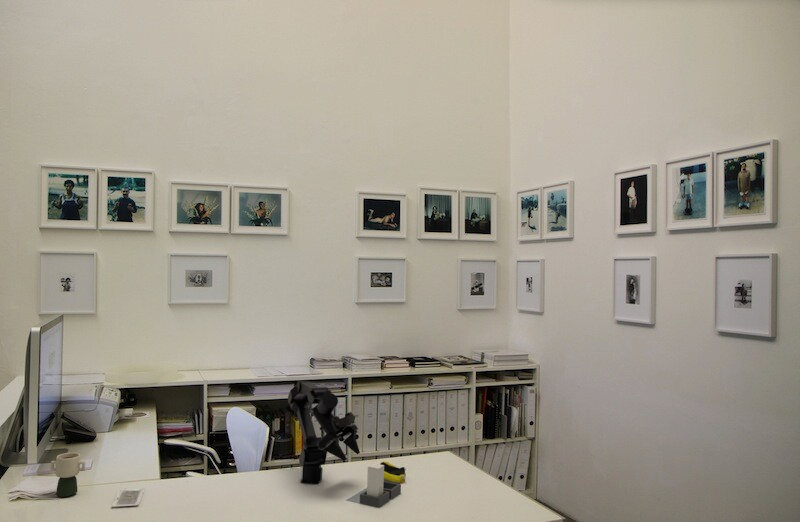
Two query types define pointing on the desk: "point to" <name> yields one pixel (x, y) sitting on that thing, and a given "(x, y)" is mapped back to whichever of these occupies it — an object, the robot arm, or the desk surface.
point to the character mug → (67, 473)
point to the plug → (375, 480)
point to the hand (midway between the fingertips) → (352, 456)
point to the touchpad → (128, 497)
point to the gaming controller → (393, 473)
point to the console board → (388, 494)
